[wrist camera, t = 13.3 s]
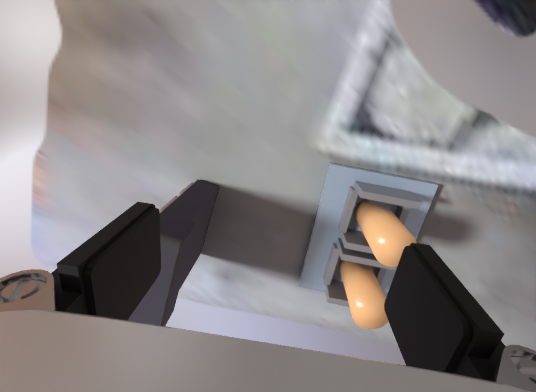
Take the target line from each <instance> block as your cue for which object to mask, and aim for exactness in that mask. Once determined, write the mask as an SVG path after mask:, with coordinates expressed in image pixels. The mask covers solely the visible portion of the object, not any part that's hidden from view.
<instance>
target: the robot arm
mask: <svg viewBox="0 0 536 392" xmlns="http://www.w3.org/2000/svg"><path fill="white" fill-rule="evenodd" d="M57 267H58V268H57V269H56V270H55V271H53V272H52V273H49V272H48V271H45V270H33V269H32V270H25V271H19V272H16V273H12V274H10V275H7V276H5V277H2V278H0V392H536V351H534V350H532V349H529V348H526V347H523V346H520V345H509V346H505V345H504V344H503V343H502V341H501V339H502V337H503V335H504V333H503V332H502V331H501V330H500V328H499V327H498V326H497V325H496V324H495V322H494V321H493V320H492V319H491V318H490V317H489V315H488V314H487V313H486V312H485V311H484V309H483V308H482V307H481V306H480V305H479V303H478V302H477V301H476V300H475V299H474V297H473V296H472V295H471V294H470V293H469V292H468V290H467V289H466V288H465V287H464V286H463V284H462V283H461V282H460V281H459V280H458V278H457V277H456V276H455V275H454V274H453V272H452V271H451V270H450V269H449V268H448V266H447V265H446V264H445V263H444V262H443V261H442V259H441V258H440V257H439V256H438V255H437V253H436V252H435V251H434V250H433V249H432V247H431V246H429V245H425V244H418V243H411V244H410V245H409V246H405V248H404V250H403V252H402V255H401V258H400V261H399V263H398V266H397V269H396V272H395V274H394V277H393V280H392V283H391V286H390V288H389V291H388V294H387V297H386V299H385V303H384V310H385V313H386V316H387V318H388V321H389V323H390V326H391V328H392V331H393V333H394V336H395V338H396V341H397V343H398V346H399V348H400V351H401V353H402V356H403V358H404V360H405V363H406V366H404V365H399V364H393V363H387V362H381V361H374V360H368V359H362V358H357V357H351V356H344V355H338V354H332V353H326V352H320V351H314V350H307V349H301V348H295V347H289V346H283V345H277V344H271V343H265V342H259V341H252V340H246V339H240V338H234V337H228V336H221V335H215V334H209V333H203V332H197V331H191V330H185V329H178V328H171V327H165V326H159V325H153V324H146V323H140V322H134V321H127V320H128V319H129V318H130V316H131V315H132V313H133V312H134V310H135V309H136V308H137V306H138V305H139V303H140V302H141V300H142V299H143V298H144V296H145V295H146V293H147V292H148V290H149V289H150V288H151V286H152V285H153V283H154V282H155V280H156V279H157V278H158V276H159V274H160V271H161V243H160V212H159V209H157V208H155V205H154V204H149V203H142V202H137V203H136V204H134V205H133V206H132V207H130V208H129V209H128V210H126V211H125V212H124V213H123V214H121V215H120V216H119V217H117V218H116V219H115V220H113V221H112V222H111V223H109V224H108V225H107V226H105V227H104V228H103V229H102V230H100V231H99V232H98V233H96V234H95V235H94V236H92V237H91V238H90V239H88V240H87V241H86V242H85V243H83V244H82V245H81V246H79V247H78V248H77V249H75V250H74V251H73V252H71V253H70V254H69V255H67V256H66V257H65V258H64V259H62V260H61V261H60V262H58V263H57Z"/></svg>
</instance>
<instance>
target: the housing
mask: <svg viewBox="0 0 536 392" xmlns="http://www.w3.org/2000/svg"><path fill="white" fill-rule="evenodd" d="M437 188H438V185H437V184H436V183H433V182H428V181H423V180H418V179H413V178H408V177H403V176H397V175H392V174H387V173H382V172H377V171H372V170H367V169H361V168H356V167H351V166H346V165H341V164H336V163H331V162H330V164H329V168H328V172H327V176H326V180H325V184H324V187H323V191H322V195H321V199H320V203H319V206H318V210H317V214H316V218H315V222H314V226H313V229H312V233H311V237H310V241H309V245H308V249H307V252H306V256H305V260H304V264H303V268H302V271H301V275H300V279H299V286H301V287H306V288H311V289H316V290H321V291H326V296H327V302H328V303H333V304H338V305H343V306H348V307H350V310H351V314H352V317H353V320H354V322H355V323H356V324H357V325H358V326H360V327H362V328H365V329H376V328H380V327H382V326H384V325H385V324H386V323H387V322H388V318H387V316H386V313H385V310H384V303H385V299H386V297H387V294H388V291H389V288H390V286H391V283H392V280H393V277H394V274H395V272H396V269H397V267H388V266H385V265H383V264H381V263H380V262H379V261H378V260H377V259H376V257H375V256H374V254H373V252H372V250H371V248H370V246H369V244H368V242H367V240H366V238H365V236H364V234H363V232H362V230H361V228H360V226H359V224H358V222H357V220H356V218H355V214H354V212H355V208H356V206H357V205H358V203H359V202H361V201H362V200H364V199H369V200H374V201H379V202H384V203H385V204H386V205H387V206H388V208H389V209H390V210H391V211H392V212H393V213H394V215H395V216H396V217H397V218H398V219H399V220H400V221H401V223H402V224H403V225H404V226H405V227H406V228H407V230H408V231H409V232H410V233H411V234H412V235H413V237H414V238H415V240H416V239H417V236H418V234H419V231H420V229H421V227H422V224H423V222H424V219H425V217H426V214H427V212H428V210H429V207H430V205H431V202H432V200H433V197H434V195H435V193H436V190H437Z"/></svg>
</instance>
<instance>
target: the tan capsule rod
mask: <svg viewBox="0 0 536 392" xmlns="http://www.w3.org/2000/svg"><path fill="white" fill-rule="evenodd" d="M354 214H355V218H356V220H357V222H358V224H359V226H360V228H361V230H362V232H363V234H364V236H365V238H366V240H367V242H368V244H369V246H370V248H371V250H372V252H373V254H374V256H375V257H376V259H377V260H378V261H379V262H380V263H381V264H383V265H385V266H388V267H397V266H398V263H399V261H400V258H401V255H402V252H403V250H404V248H405V246H409V245H410V244H411V243H417V242H416V240H415V238H414V237H413V235H412V234H411V233H410V232H409V231H408V230H407V228H406V227H405V226H404V225H403V224H402V223H401V221H400V220H399V219H398V218H397V217H396V216H395V215H394V213H393V212H392V211H391V210H390V209H389V208H388V206H387V205H386V204H385V203H384V202H379V201H374V200H369V199H364V200H362V201H361V202H359V203H358V205H357V206H356V208H355V212H354Z"/></svg>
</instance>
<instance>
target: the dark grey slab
mask: <svg viewBox="0 0 536 392" xmlns="http://www.w3.org/2000/svg"><path fill="white" fill-rule="evenodd" d="M218 190H219V187H218V186H216V185H213V184H210V183H207V182H204V181H201V180H197V181H196V182H195V183H191V184H189V185H188V186H187V187H186V188H185V189H183V190H182V191H181V192H180V193H179V195H178V196H175V197H174V198H173V199H172V200H171V201H169V202H168V203H167V204H166V205H165V206H164V207H162V208H161V209H160V210H159V212H160V243H161V271H160V274H159V276H158V278H157V279H156V280H155V282H154V283H153V285H152V286H151V288H150V289H149V290H148V292H147V293H146V295H145V296H144V298H143V299H142V300H141V302H140V303H139V305H138V306H137V308H136V309H135V310H134V312H133V313H132V315H131V316H130V318H129V319H128V320H127V321H134V322H140V323H146V324H153V325H159V326H165V325H166V323H167V321H168V320H169V318H170V316H171V314H172V312H173V310H174V307H175V303H176V299H177V295H178V291H179V289H180V288H181V286H182V284H183V283H184V281H185V279H186V278H187V276H188V274H189V272H190V271H191V269H192V267H193V266H194V264H195V262H196V260H197V259H198V257H199V255H200V253H201V250H202V247H203V243H204V239H205V236H206V232H207V229H208V225H209V222H210V218H211V214H212V211H213V207H214V204H215V200H216V197H217V193H218Z"/></svg>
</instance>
